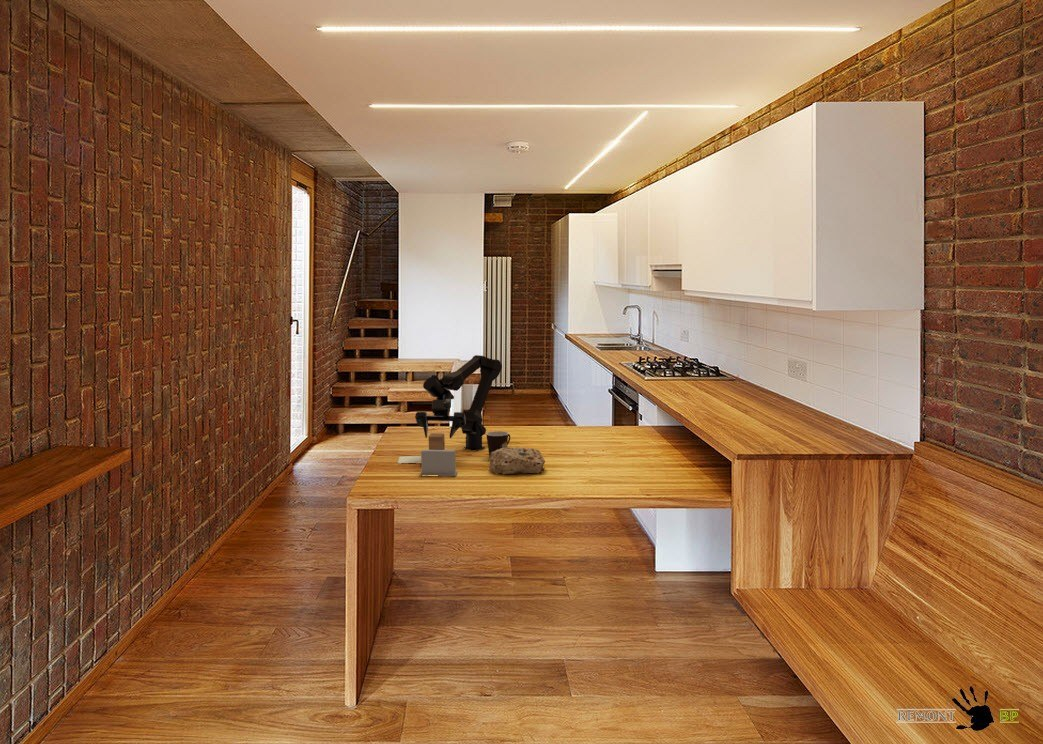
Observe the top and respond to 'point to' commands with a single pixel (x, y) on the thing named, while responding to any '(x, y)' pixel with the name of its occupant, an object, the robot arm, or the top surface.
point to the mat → (409, 459)
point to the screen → (438, 462)
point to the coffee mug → (497, 440)
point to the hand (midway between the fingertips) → (438, 437)
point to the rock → (516, 461)
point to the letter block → (436, 441)
